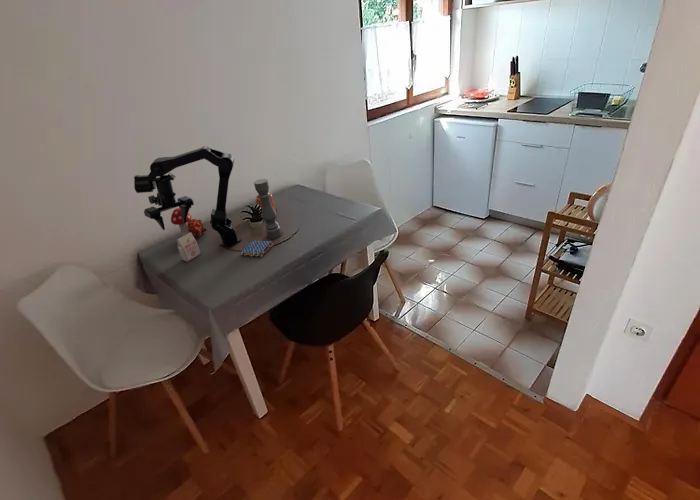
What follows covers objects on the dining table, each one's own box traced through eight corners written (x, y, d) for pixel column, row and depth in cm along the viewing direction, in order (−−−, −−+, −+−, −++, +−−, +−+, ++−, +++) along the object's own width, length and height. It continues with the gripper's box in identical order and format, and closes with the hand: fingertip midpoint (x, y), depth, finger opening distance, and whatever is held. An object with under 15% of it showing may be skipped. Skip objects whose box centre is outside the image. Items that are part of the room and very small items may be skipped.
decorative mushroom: (202, 237, 190) (191, 207, 182) (185, 245, 185) (173, 215, 177) (191, 232, 196) (181, 203, 189) (174, 240, 191) (163, 210, 184)
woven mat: (262, 257, 165) (260, 253, 164) (240, 256, 169) (238, 251, 168) (274, 244, 174) (273, 240, 173) (253, 243, 178) (252, 239, 177)
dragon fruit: (197, 233, 199) (203, 245, 190) (179, 229, 193) (185, 241, 185) (204, 217, 196) (210, 229, 188) (186, 213, 191) (192, 225, 182)
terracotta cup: (279, 210, 205) (275, 193, 201) (268, 217, 200) (264, 199, 195) (267, 208, 210) (262, 191, 205) (256, 215, 204) (251, 198, 199)
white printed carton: (182, 259, 173) (174, 238, 168) (196, 252, 178) (188, 231, 173) (187, 261, 171) (179, 240, 166) (201, 253, 176) (193, 233, 171)
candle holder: (268, 233, 184) (254, 180, 172) (281, 230, 184) (268, 177, 172) (266, 239, 179) (252, 185, 167) (281, 237, 179) (267, 182, 167)
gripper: (176, 180, 176) (184, 214, 184) (132, 193, 164) (143, 228, 171) (190, 185, 170) (198, 220, 177) (146, 199, 158) (156, 236, 165)
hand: (174, 226), depth 173 cm, fingers open, 9 cm apart
